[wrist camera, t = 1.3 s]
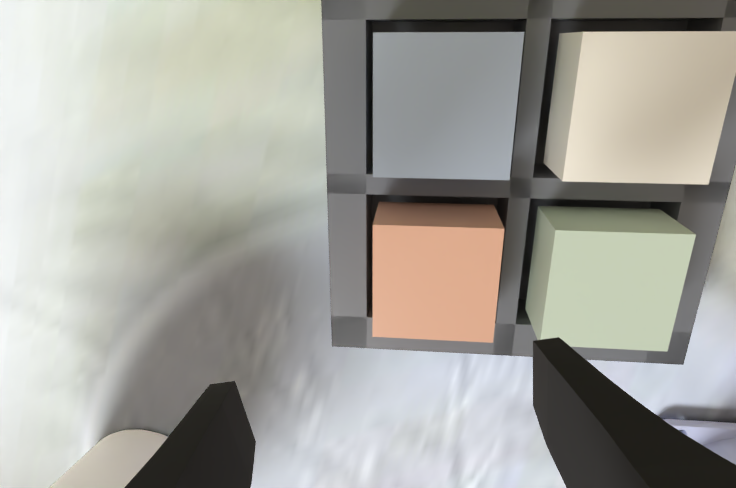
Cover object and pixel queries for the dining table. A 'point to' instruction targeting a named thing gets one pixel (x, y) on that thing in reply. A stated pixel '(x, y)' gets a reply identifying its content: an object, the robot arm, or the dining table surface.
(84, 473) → the cup
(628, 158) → the ivory key
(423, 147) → the slate key
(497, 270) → the terracotta key
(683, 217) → the grey divided tray
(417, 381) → the dining table surface
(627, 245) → the sage key
